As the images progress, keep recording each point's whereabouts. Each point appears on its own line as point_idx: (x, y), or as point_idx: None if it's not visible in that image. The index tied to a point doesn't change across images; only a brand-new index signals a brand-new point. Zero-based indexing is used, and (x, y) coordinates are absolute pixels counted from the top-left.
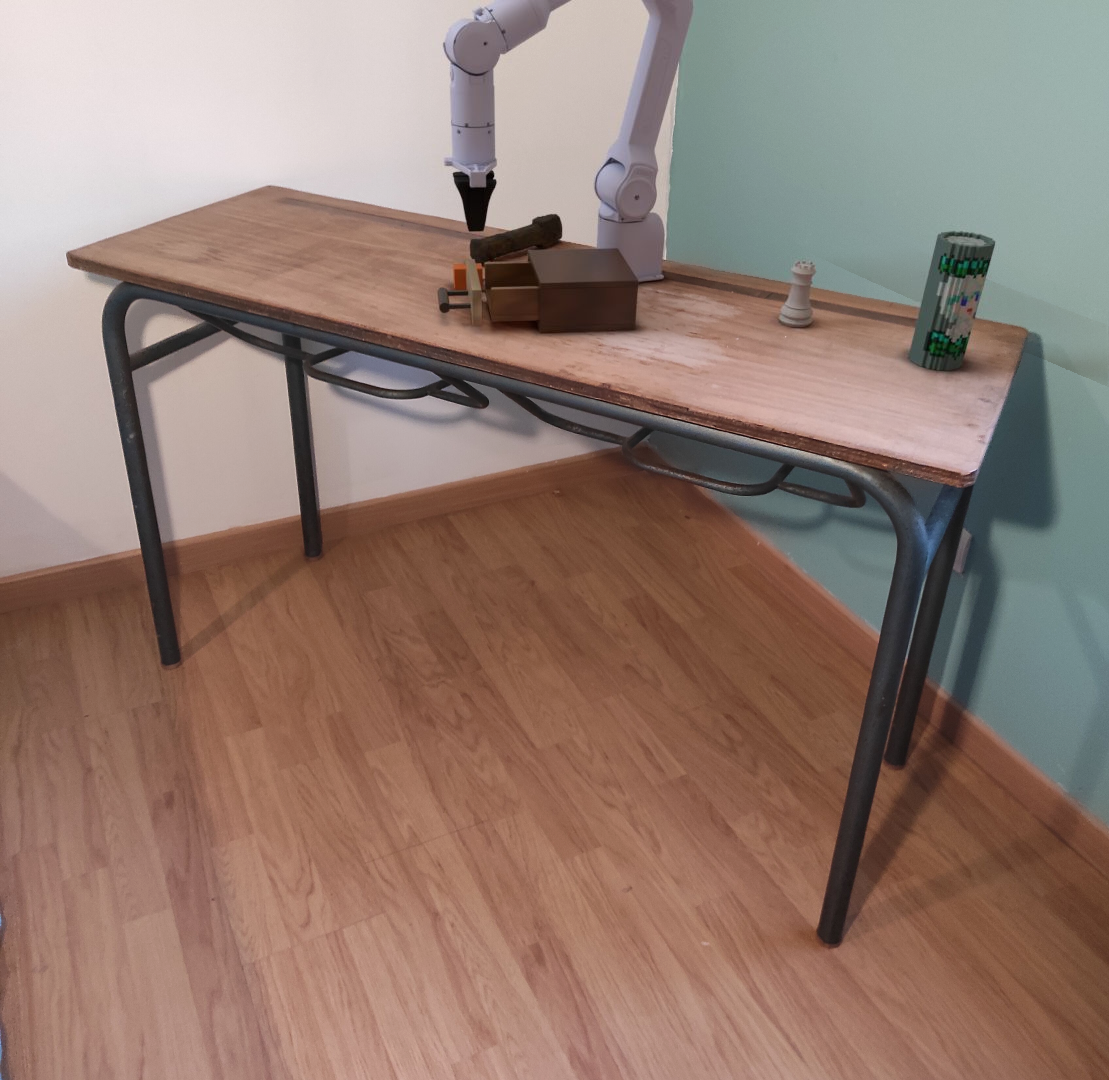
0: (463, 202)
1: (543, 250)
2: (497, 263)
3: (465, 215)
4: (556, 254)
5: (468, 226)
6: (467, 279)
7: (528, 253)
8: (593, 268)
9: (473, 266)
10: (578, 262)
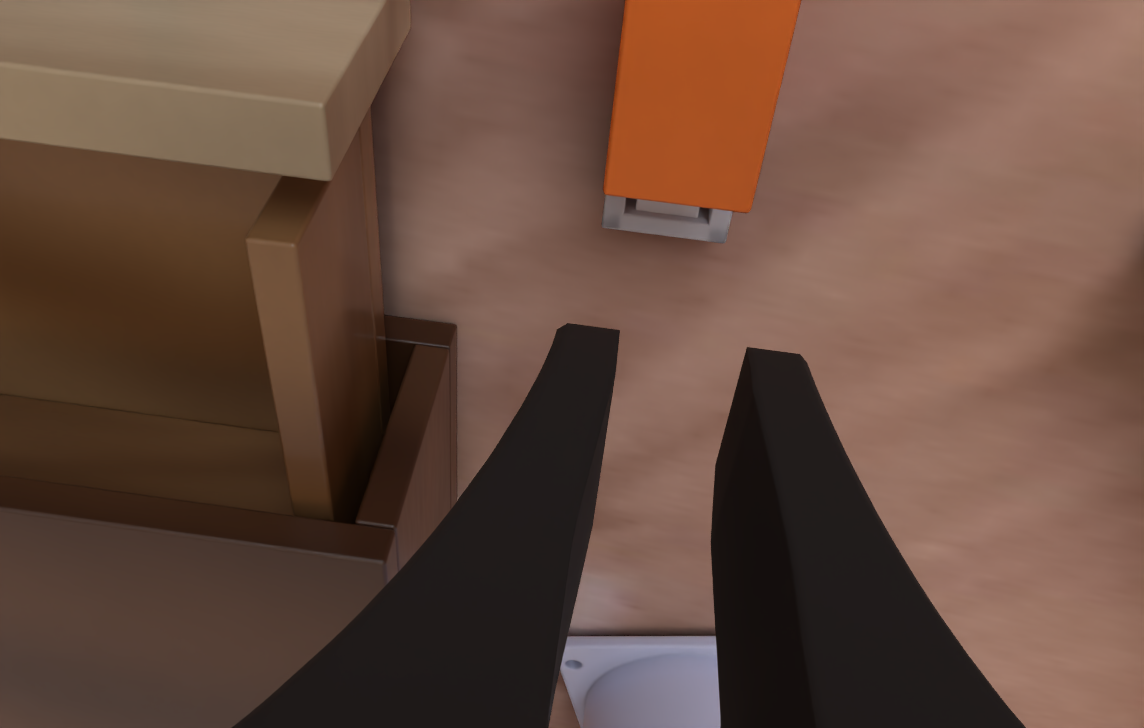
0: (388, 584)
1: None
2: (261, 324)
3: (506, 440)
4: (283, 653)
5: (549, 360)
6: (154, 14)
7: (339, 546)
8: (40, 705)
9: (94, 130)
10: (133, 688)
